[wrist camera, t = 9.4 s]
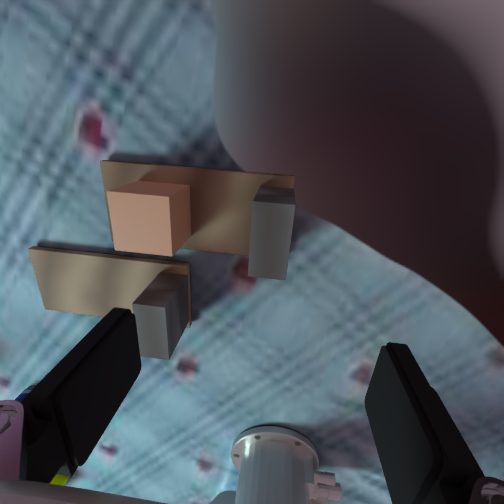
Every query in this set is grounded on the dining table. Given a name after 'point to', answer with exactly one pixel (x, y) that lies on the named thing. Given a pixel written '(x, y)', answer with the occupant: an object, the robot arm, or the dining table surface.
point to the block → (150, 217)
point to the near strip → (226, 210)
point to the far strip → (119, 292)
